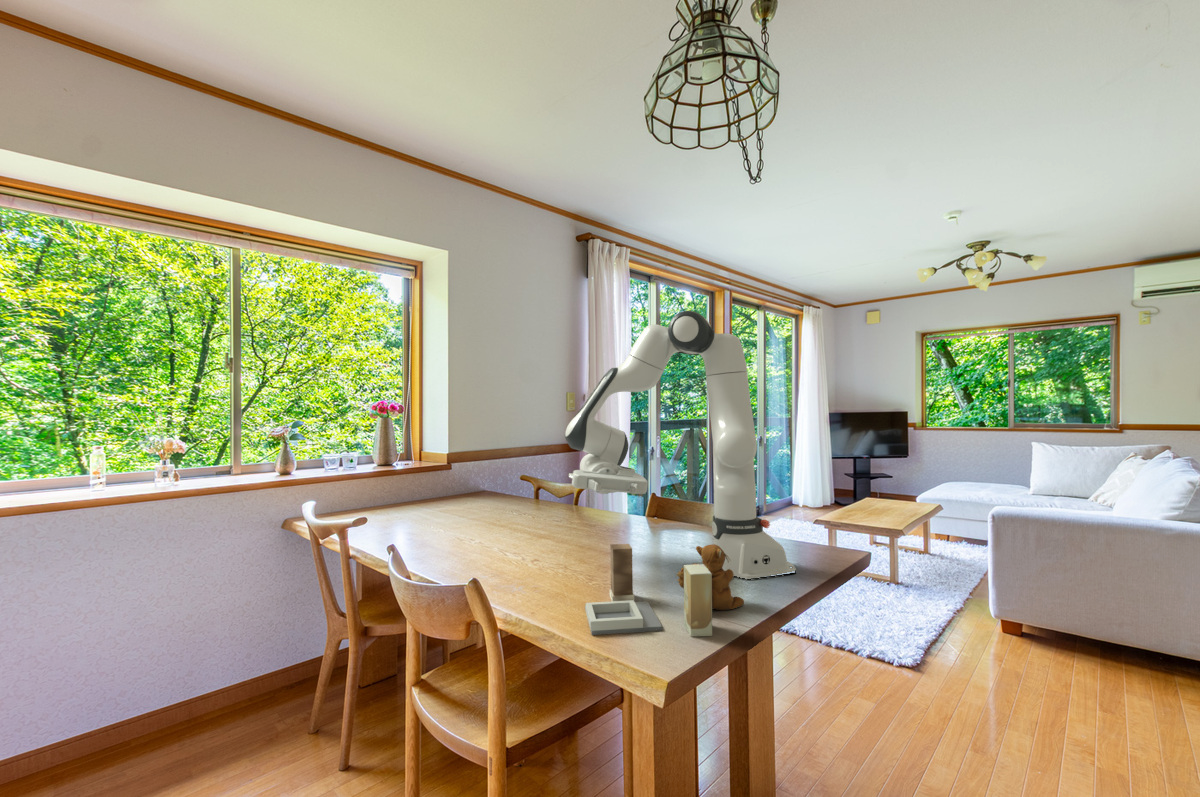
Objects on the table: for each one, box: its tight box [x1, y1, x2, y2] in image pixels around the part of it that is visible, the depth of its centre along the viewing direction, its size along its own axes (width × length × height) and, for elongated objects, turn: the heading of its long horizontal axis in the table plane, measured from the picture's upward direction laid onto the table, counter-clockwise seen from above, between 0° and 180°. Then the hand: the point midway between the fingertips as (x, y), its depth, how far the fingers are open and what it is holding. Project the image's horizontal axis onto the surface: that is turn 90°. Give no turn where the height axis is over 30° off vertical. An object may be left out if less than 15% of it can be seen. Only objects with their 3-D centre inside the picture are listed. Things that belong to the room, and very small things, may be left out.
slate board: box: [584, 599, 663, 636], centre depth 113 cm, size 14×14×3 cm
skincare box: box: [683, 563, 713, 638], centre depth 107 cm, size 6×4×12 cm
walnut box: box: [609, 543, 635, 601], centre depth 125 cm, size 5×5×12 cm
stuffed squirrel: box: [675, 544, 745, 611], centre depth 120 cm, size 10×14×13 cm
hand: (616, 489), depth 137 cm, fingers open, 8 cm apart
